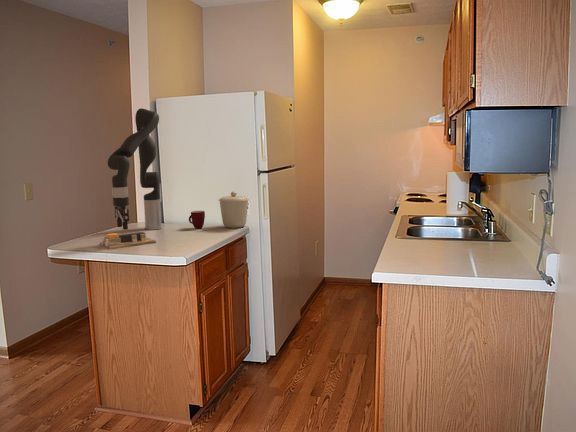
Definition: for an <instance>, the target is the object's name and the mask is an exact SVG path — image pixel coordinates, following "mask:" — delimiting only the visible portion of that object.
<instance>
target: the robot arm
mask: <svg viewBox="0 0 576 432" xmlns="http://www.w3.org/2000/svg"><path fill="white" fill-rule="evenodd" d="M134 119H135V121H134V122H135V127H136V132H134V133H132V134H130V135H129V136H128V137H127V138H125V140H124V141H123V142H122V144H121V145H120V147H118V149H115V151H114V152H112V154H111V155H110V156H109V157H108V159H107V167H108V169H110V170H113V171H117V173H116V174H114V175H113V176H112V177H111V182H112V190H111V191H112V194H111V195H112V205H113V206H114V218H115V220H116V225H117V226H116V227H117V228H122V230H124V231H126V230H128V229H129V227H128V226H129V225H128V224H129V223H128V222H129V221H130V215H129V214H130V213H129V208H126V206H129V205H130V200H129V199H130V197H129V189H128V188H129V187H128V176H129V170H130V164H131V163H130V160H129V158H131V157H133V155H134V153H136V151H137V150H138V158H139V183H140V187H141V188H143V189H153V190H151V192H149V193H145V194H143V207H144V210H143V211H144V212H143V213H144V224H145V228H144V229H145V230H154V231H155V230H160V229H162V212H161V211H162V209H161V208H162V207H161V195H160V193H161V192H160V191H161V190H160V185H161V184H160V183H161V182H160V180H161V179H160V174H159V172H157V171H148V168H149V167H150V166H151V165H152V164H153V162H154V161H155V159H156V157H157V147H156V146H157V145H156V143H155V141H154V140H153V138H152V137H151V133H153V132H154V130H155V129H156V128H157V126H158V125H159V122H160V116H159V114H158V113H157V112H156V111H152V110H149V109H147V108H143V107H142V108H139V109H137V110H136V113H135V118H134ZM113 206H112V207H113Z"/></svg>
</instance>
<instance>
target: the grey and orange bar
mask: <svg viewBox="0 0 576 432" xmlns="http://www.w3.org/2000/svg"><path fill="white" fill-rule="evenodd" d="M138 232H139V233H135V232H134V233H133V232H130V233H131V234H126V233H123V234H119V233H116V232H115V233H106V237H107V239H114V238H121V243H125V242H132V236H131V235H137V241H140V240H141V239H140V234H146V232H144V231H141V232H140V231H138Z"/></svg>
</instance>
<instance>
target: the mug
mask: <svg viewBox="0 0 576 432" xmlns="http://www.w3.org/2000/svg"><path fill="white" fill-rule="evenodd" d="M205 213H206V212H205V210H191V211H190V215H189V217H188V221H189V223H190V224H192V226H193V228H194V229H195V230H201V229H203V227H204V225H205V220H206V219H205V218H206V214H205Z"/></svg>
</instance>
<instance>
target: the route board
mask: <svg viewBox="0 0 576 432" xmlns="http://www.w3.org/2000/svg"><path fill="white" fill-rule="evenodd" d="M139 232H140V231H135V232H134V233H139ZM131 233H132V232H126V233H125V234H131ZM131 236H132V242H125V243H121V238H114V239H107V236H102V237H101V241H100V242H99V244H100V245H101V246H103V247H105V248H107V249H109V250H114V249H123V248H129V247H136V246H143V245H150V244H151V245H152V244H157V240H156V239H155V240H154V239H152V238H149V237H147V235H146V233H145V234H140V239H141V240H140V241H137V235H131Z"/></svg>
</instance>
